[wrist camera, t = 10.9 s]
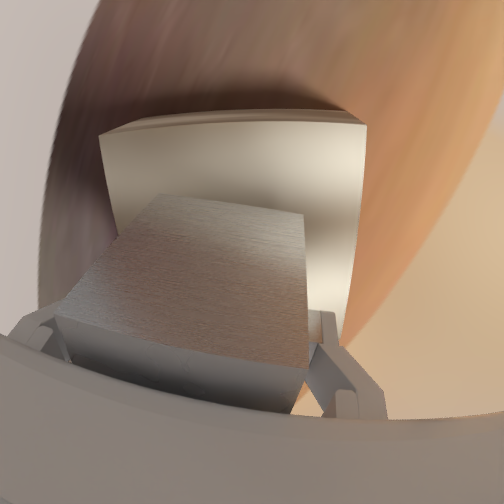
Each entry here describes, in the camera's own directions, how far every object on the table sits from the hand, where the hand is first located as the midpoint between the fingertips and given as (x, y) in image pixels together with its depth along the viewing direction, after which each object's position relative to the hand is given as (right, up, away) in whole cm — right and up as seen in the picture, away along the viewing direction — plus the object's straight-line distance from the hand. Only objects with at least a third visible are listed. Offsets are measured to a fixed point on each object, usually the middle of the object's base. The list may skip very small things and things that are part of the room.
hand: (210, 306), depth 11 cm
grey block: (0, +1, +2) cm, 3 cm away
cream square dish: (+1, +5, +8) cm, 9 cm away
